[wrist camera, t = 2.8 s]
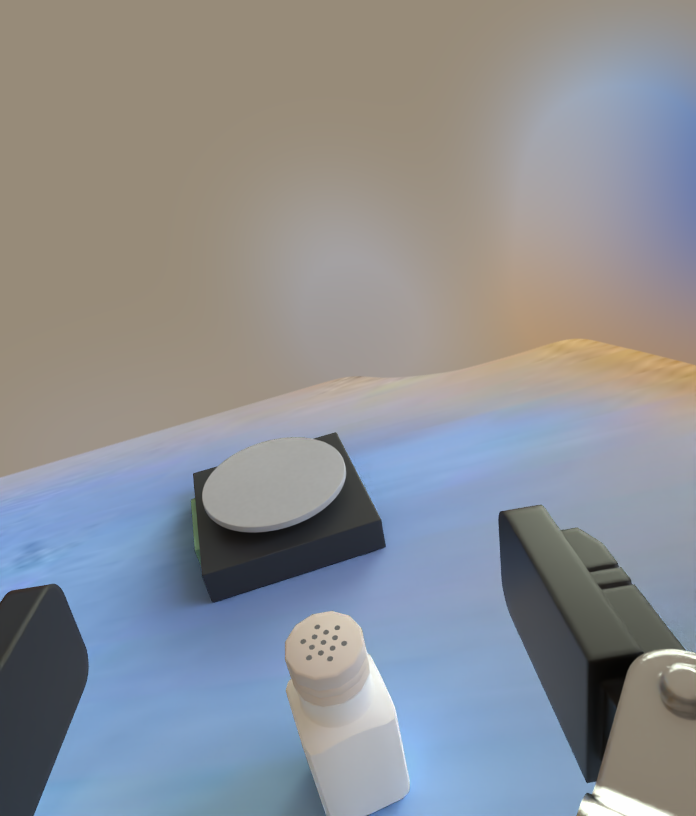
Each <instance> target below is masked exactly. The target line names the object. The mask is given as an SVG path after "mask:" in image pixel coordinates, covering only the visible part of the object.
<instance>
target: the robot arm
mask: <svg viewBox="0 0 696 816" xmlns="http://www.w3.org/2000/svg"><path fill="white" fill-rule="evenodd" d="M499 540H500V558H501V576H502V586H503V592H504V596H505V601H506V604H507V607H508V610H509V613H510V616H511V618H512V620H513V622H514V625H515V627H516V629H517V631H518V633H519V635H520V638H521V640H522V642H523V644H524V646H525V649H526V651H527V653H528V655H529V657H530V660H531V662H532V664H533V666H534V668H535V671H536V673H537V675H538V677H539V679H540V681H541V684H542V686H543V688H544V690H545V692H546V695H547V697H548V699H549V701H550V703H551V706H552V708H553V710H554V712H555V714H556V717H557V719H558V721H559V723H560V725H561V727H562V730H563V732H564V734H565V736H566V738H567V741H568V743H569V745H570V747H571V749H572V752H573V754H574V756H575V758H576V760H577V763H578V765H579V767H580V769H581V771H582V774H583V776H584V778H585V780H586V782H587V783H590V782H596V785H595V788H594V791H593V793H592V795H591V794H589V793H586V794H585V796H584V798H583V800H582V802H581V804H580V807H579V810H578V813H577V816H696V653H693V652H688V651H686V650H685V649H684V648H683V646H682V645H681V644H680V642H679V641H678V640H677V639H676V637H675V636H674V635H673V633H672V632H671V631H670V630H669V628H668V627H667V626H666V624H665V623H664V622H663V621H662V619H661V618H660V617H659V615H658V614H657V613H656V612H655V610H654V609H653V608H652V606H651V605H650V604H649V603H648V601H647V600H646V599H645V597H644V596H643V595H642V593H641V592H640V591H639V590H638V588H637V587H636V586H635V584H634V585H632V583H631V579H630V578H629V577H628V575H627V574H626V573H625V572H624V570H623V569H622V568H621V567H619V566H618V563H617V561H616V560H615V559H614V557H613V556H612V555H611V554H610V552H609V551H608V550H607V548H606V547H605V546H604V545H603V543H602V542H600V541H598V540H597V539H595V538H593V537H592V536H590V535H589V534H587V533H585V532H584V531H582V530H580V529H579V528H572V529H566V530H560V529H559V528H558V526H557V525H556V523H555V522H554V520H553V519H552V518H551V516H550V515H549V513H548V512H547V510H546V509H545V508H544V507H543V506H542V505H536V506H530V507H524V508H518V509H512V510H506V511H501V512H500V513H499ZM87 677H88V654H87V650H86V647H85V644H84V642H83V639H82V637H81V634H80V632H79V629H78V627H77V624H76V622H75V620H74V617H73V615H72V612H71V610H70V607H69V605H68V602H67V600H66V597H65V595H64V593H63V591H62V589H61V588H60V587H59V586H58V585H56V584H49V585H43V586H37V587H31V588H25V589H19V590H13V591H10V592H8V593H7V594H6V595H5V596H4V598H3V599H2V601H1V602H0V816H34V813H35V811H36V808H37V806H38V803H39V801H40V798H41V796H42V793H43V791H44V788H45V786H46V783H47V781H48V778H49V775H50V773H51V770H52V768H53V765H54V763H55V760H56V758H57V755H58V753H59V750H60V748H61V745H62V743H63V740H64V738H65V735H66V733H67V730H68V728H69V725H70V723H71V720H72V718H73V715H74V713H75V710H76V708H77V705H78V703H79V700H80V698H81V695H82V693H83V690H84V688H85V685H86V682H87Z"/></svg>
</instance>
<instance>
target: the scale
mask: <svg viewBox="0 0 696 816" xmlns="http://www.w3.org/2000/svg"><path fill="white" fill-rule="evenodd" d="M193 479H194V490H195V498H194V499H191V508H192V521H193V534H194V547H195V552H196V555H197V558H198V560H199V563H200V565H201V570H202V577H203V580H204V582H205V585H206V587H207V590H208V592H209V595H210V597H211V600H212V602H216V601H219V600H222V599H225V598H229V597H232V596H235V595H238V594H241V593H244V592H247V591H250V590H253V589H257V588H260V587H263V586H266V585H269V584H272V583H275V582H278V581H281V580H285V579H288V578H291V577H294V576H297V575H300V574H303V573H306V572H309V571H312V570H316V569H319V568H322V567H325V566H328V565H331V564H334V563H337V562H340V561H344V560H347V559H350V558H353V557H356V556H359V555H362V554H365V553H368V552H372V551H375V550H378V549H381V548H384V547H386V545H385V539H384V534H383V528H382V522H381V519H380V517H379V515H378V513H377V511H376V509H375V507H374V505H373V503H372V501H371V499H370V497H369V495H368V493H367V491H366V489H365V487H364V485H363V483H362V481H361V479H360V477H359V476H358V474H357V472H356V470H355V468H354V466H353V464H352V462H351V460H350V458H349V456H348V454H347V452H346V450H345V448H344V446H343V444H342V442H341V440H340V438H339V436H338V434H337V433H336V432H335V433H332V434H328V435H325V436H321V437H318V438H314V439H311V438H301V437H290V438H280V439H274V440H269V441H265V442H262V443H259V444H256V445H253V446H250V447H248V448H246V449H244V450H241V451H239V452H238V453H236V454H234V455H232V456H231V457H229V458H228V459H226V460H225V461H224V462H223V463H221V464H220V465H219V466H217V467H214V468H210V469H207V470H203V471H200V472H196V473H193Z"/></svg>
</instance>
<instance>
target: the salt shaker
mask: <svg viewBox="0 0 696 816" xmlns="http://www.w3.org/2000/svg"><path fill="white" fill-rule="evenodd" d="M285 661H286V664H287V667H288V670H289V673H290V676H291V679H290V681H289V682H288V684H287V688H286V693H287V697H288V700H289V703H290V707H291V710H292V713H293V717H294V720H295V723H296V727H297V730H298V733H299V736H300V740H301V743H302V746H303V749H304V752H305V755H306V758H307V761H308V764H309V767H310V770H311V773H312V776H313V779H314V782H315V784H316V787H317V790H318V793H319V796H320V799H321V802H322V805H323V808H324V811H325V814H326V816H367V815H369V814H371V813H374V812H376V811H378V810H380V809H382V808H384V807H386V806H388V805H390V804H392V803H394V802H396V801H399V800H401V799H403V798H404V797H405V796H406V795H407V794H408V792H409V790H410V781H409V774H408V769H407V764H406V759H405V754H404V749H403V744H402V739H401V734H400V730H399V725H398V720H397V715H396V710H395V706H394V704H393V702H392V700H391V697H390V695H389V693H388V690H387V688H386V686H385V684H384V682H383V679H382V677H381V675H380V673H379V671H378V669H377V667H376V665H375V663H374V661H373V660H372V658H371V656H370V655H369V654H368V653H367V651H366V646H365V642H364V637H363V633H362V628H361V627H360V626H359V625H358V624H357V623H356V622H355V621H354V620H353V619H352V618H351V617H350V616H348V615H345V614H341V613H337V612H333V611H329V612H323V613H318V614H312V615H311V616H309V617H308V618H306V619H305V620H303V621H301V622H300V623H298V624H297V625H295V627H294V629H293V630H292V632H291V633H290V635H289V637H288V638H287V640H286V642H285Z"/></svg>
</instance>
